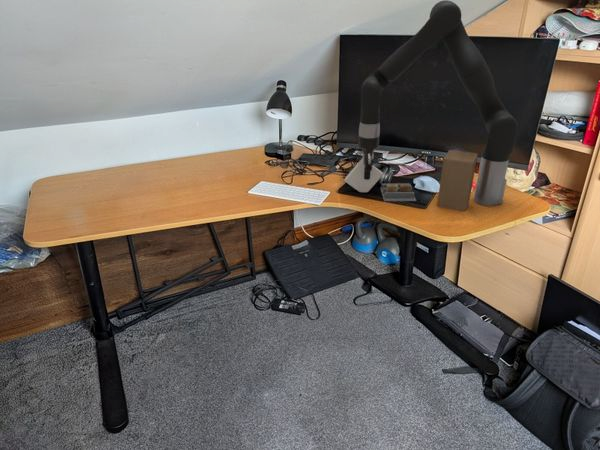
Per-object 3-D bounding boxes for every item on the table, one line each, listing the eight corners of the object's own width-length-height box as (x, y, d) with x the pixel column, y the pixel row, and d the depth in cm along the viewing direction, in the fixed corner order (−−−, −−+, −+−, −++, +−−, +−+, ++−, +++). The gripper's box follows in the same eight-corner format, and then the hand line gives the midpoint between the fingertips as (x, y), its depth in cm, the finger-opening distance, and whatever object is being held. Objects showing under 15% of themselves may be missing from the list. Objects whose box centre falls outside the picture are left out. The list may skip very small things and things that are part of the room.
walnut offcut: (409, 194, 175) (410, 184, 173) (410, 196, 173) (411, 186, 171) (399, 194, 175) (400, 184, 173) (400, 196, 173) (400, 186, 171)
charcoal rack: (410, 191, 181) (411, 183, 179) (416, 204, 170) (417, 195, 169) (379, 191, 181) (380, 183, 180) (383, 204, 171) (384, 196, 169)
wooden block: (468, 203, 170) (478, 152, 161) (464, 215, 162) (473, 162, 153) (441, 199, 174) (449, 149, 164) (436, 209, 166) (443, 157, 157)
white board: (364, 193, 180) (382, 172, 175) (364, 195, 178) (383, 174, 174) (344, 179, 177) (362, 157, 173) (344, 181, 175) (363, 159, 171)
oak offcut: (396, 194, 175) (397, 184, 173) (397, 196, 173) (398, 186, 171) (386, 194, 175) (386, 184, 173) (386, 196, 173) (387, 186, 172)
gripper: (381, 140, 161) (378, 185, 169) (377, 128, 173) (374, 171, 181) (360, 140, 161) (358, 185, 170) (357, 128, 173) (355, 171, 182)
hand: (366, 177), depth 175 cm, fingers closed on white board, 2 cm apart
